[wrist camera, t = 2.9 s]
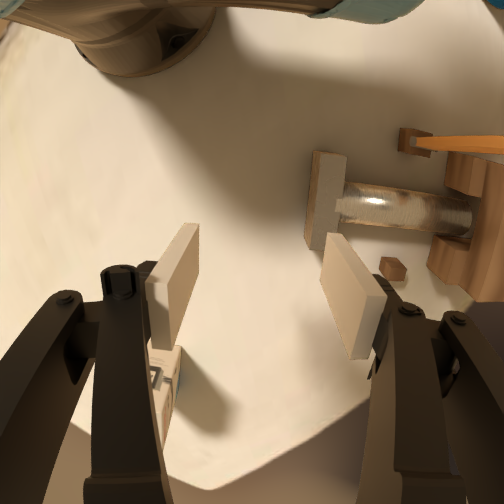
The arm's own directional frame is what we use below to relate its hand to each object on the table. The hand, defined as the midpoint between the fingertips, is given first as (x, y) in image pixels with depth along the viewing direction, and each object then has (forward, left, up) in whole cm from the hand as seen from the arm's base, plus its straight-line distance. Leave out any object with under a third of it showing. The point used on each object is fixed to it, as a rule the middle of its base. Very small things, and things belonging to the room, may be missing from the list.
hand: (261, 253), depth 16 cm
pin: (+15, 0, -17) cm, 23 cm away
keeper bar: (+15, +7, -6) cm, 18 cm away
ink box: (-11, -24, -17) cm, 31 cm away
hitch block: (+22, 0, -17) cm, 28 cm away
